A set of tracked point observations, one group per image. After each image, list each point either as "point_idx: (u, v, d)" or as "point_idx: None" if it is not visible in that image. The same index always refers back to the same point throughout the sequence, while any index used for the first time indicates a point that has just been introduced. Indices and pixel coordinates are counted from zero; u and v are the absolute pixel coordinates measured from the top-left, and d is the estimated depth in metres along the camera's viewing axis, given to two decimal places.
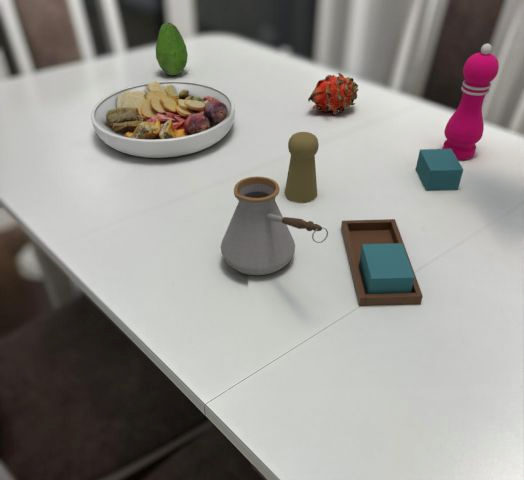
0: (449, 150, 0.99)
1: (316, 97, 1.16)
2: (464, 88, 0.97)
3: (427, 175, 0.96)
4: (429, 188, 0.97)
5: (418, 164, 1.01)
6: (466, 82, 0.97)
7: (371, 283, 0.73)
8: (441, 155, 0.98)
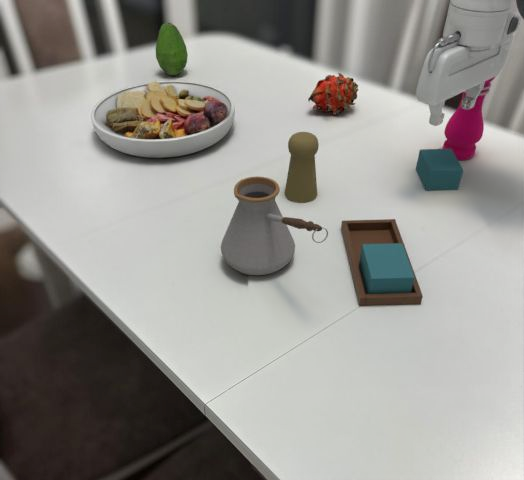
0: (449, 150, 0.99)
1: (316, 97, 1.16)
2: None
3: (427, 175, 0.96)
4: (429, 188, 0.97)
5: (418, 164, 1.01)
6: None
7: (371, 283, 0.73)
8: (441, 155, 0.98)
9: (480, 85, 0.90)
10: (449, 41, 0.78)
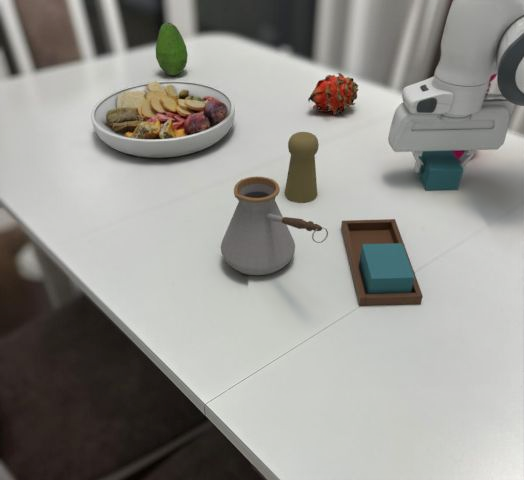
0: None
1: (316, 97, 1.16)
2: None
3: (427, 175, 0.96)
4: (429, 188, 0.97)
5: None
6: None
7: (371, 283, 0.73)
8: (441, 155, 0.98)
9: None
10: None
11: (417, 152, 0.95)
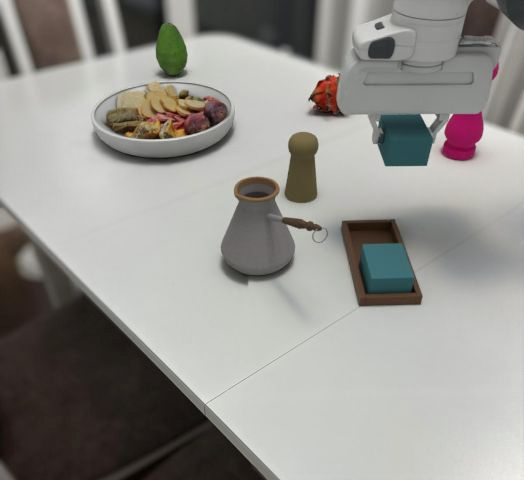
0: (417, 116, 0.77)
1: (316, 97, 1.16)
2: None
3: (387, 146, 0.74)
4: (390, 163, 0.75)
5: None
6: None
7: (371, 283, 0.73)
8: (407, 122, 0.76)
9: None
10: None
11: (374, 116, 0.73)
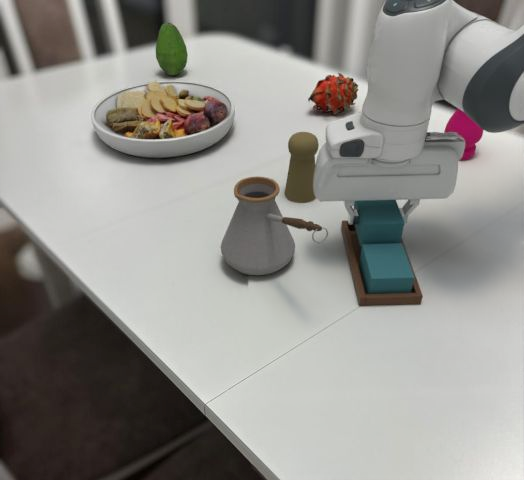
0: None
1: (316, 97, 1.16)
2: None
3: (361, 229, 0.78)
4: None
5: None
6: None
7: (371, 283, 0.73)
8: (380, 203, 0.80)
9: None
10: None
11: (348, 201, 0.77)
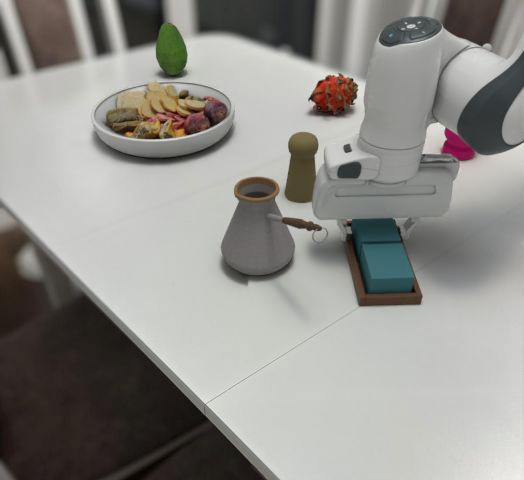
0: None
1: (316, 97, 1.16)
2: None
3: (358, 245, 0.80)
4: None
5: (352, 228, 0.85)
6: None
7: (371, 283, 0.73)
8: (377, 220, 0.82)
9: None
10: None
11: (340, 220, 0.79)
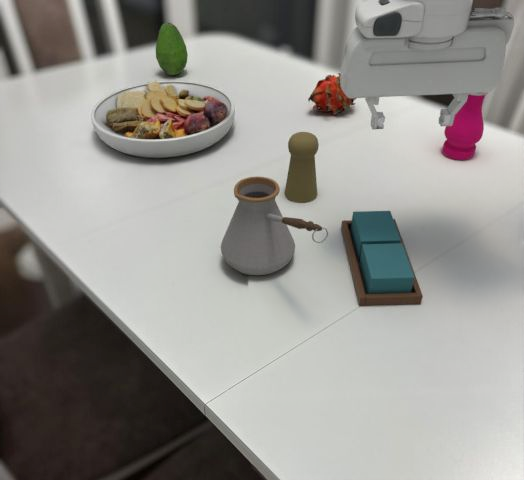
0: (387, 213, 0.84)
1: (316, 97, 1.16)
2: None
3: (358, 245, 0.80)
4: None
5: (352, 228, 0.85)
6: None
7: (371, 283, 0.73)
8: (377, 220, 0.82)
9: None
10: None
11: (372, 99, 0.69)
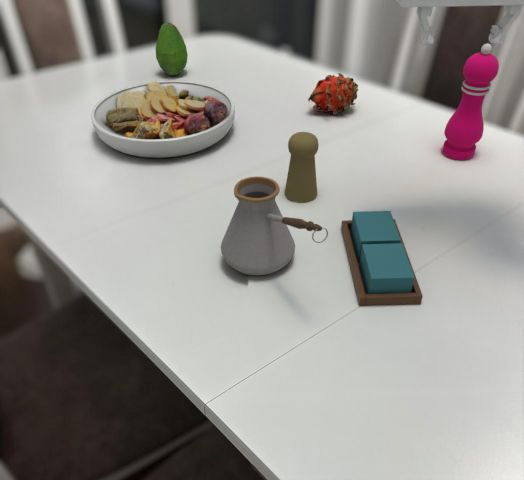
0: (387, 213, 0.84)
1: (316, 97, 1.16)
2: (464, 88, 0.97)
3: (358, 245, 0.80)
4: None
5: (352, 228, 0.85)
6: (466, 82, 0.97)
7: (371, 283, 0.73)
8: (377, 220, 0.82)
9: None
10: None
11: (425, 9, 0.68)
